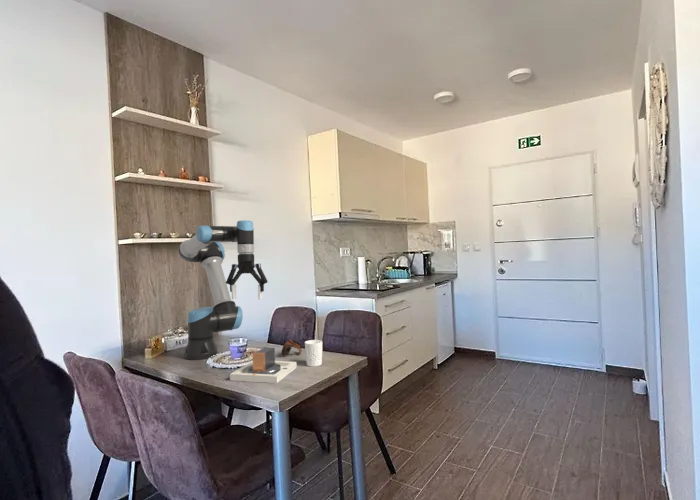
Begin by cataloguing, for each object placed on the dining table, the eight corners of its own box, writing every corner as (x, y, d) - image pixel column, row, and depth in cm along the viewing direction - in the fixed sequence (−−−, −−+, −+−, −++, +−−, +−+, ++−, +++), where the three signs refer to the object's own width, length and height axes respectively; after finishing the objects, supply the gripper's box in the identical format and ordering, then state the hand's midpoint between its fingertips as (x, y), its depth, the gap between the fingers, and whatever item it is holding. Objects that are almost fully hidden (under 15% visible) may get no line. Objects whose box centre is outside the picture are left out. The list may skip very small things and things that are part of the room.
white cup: (319, 361, 179) (318, 339, 179) (325, 365, 172) (325, 342, 172) (302, 363, 176) (302, 341, 176) (308, 368, 169) (308, 344, 169)
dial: (258, 365, 170) (257, 345, 170) (285, 367, 167) (285, 347, 167) (242, 375, 158) (241, 353, 158) (271, 376, 154) (271, 355, 154)
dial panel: (230, 380, 155) (229, 373, 155) (254, 365, 174) (254, 359, 174) (277, 383, 150) (276, 376, 150) (296, 367, 170) (296, 361, 170)
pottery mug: (283, 353, 198) (291, 338, 199) (298, 362, 195) (306, 347, 196) (274, 352, 186) (282, 337, 187) (290, 362, 183) (298, 346, 184)
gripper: (217, 254, 183) (218, 299, 183) (266, 252, 177) (268, 299, 177) (226, 254, 191) (227, 297, 191) (273, 252, 185) (275, 297, 185)
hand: (247, 298), depth 184 cm, fingers open, 13 cm apart
